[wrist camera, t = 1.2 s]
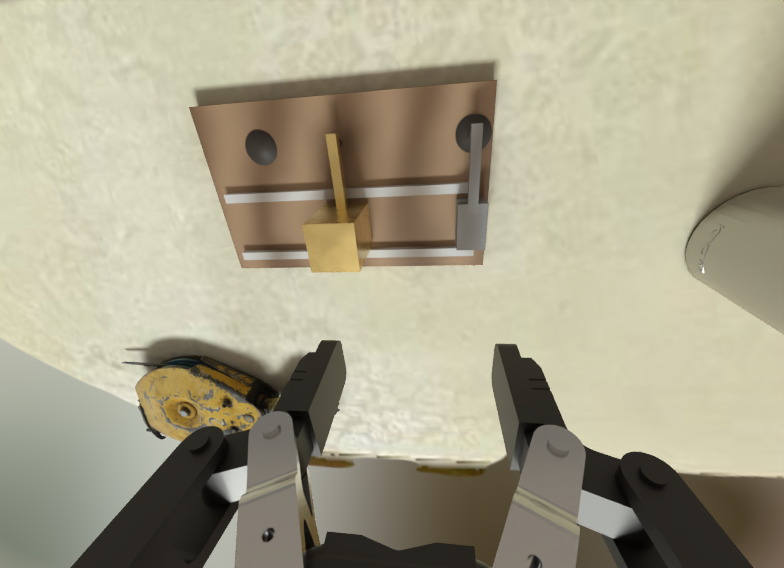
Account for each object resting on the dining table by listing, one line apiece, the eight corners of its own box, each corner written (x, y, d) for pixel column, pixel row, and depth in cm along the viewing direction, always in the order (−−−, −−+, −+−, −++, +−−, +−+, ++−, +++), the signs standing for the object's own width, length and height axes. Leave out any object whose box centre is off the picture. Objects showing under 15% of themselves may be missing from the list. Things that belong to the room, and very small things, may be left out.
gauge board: (493, 81, 24) (502, 77, 21) (480, 259, 31) (486, 275, 28) (198, 107, 27) (169, 106, 24) (247, 263, 34) (229, 278, 31)
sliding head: (360, 130, 25) (342, 135, 20) (372, 244, 30) (360, 271, 25) (313, 134, 26) (283, 139, 21) (332, 245, 31) (311, 272, 25)
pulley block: (335, 472, 41) (130, 452, 44) (346, 437, 46) (163, 422, 50) (325, 382, 36) (96, 368, 40) (339, 354, 42) (137, 344, 45)
